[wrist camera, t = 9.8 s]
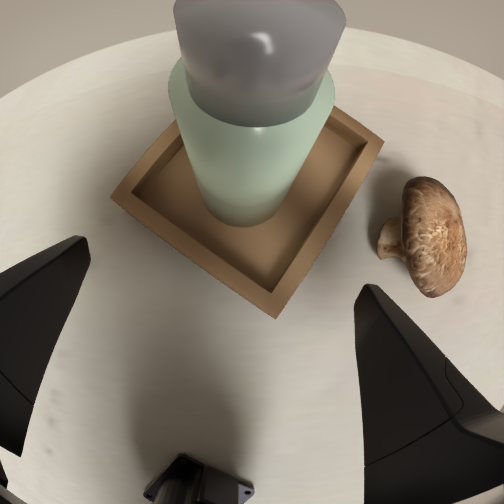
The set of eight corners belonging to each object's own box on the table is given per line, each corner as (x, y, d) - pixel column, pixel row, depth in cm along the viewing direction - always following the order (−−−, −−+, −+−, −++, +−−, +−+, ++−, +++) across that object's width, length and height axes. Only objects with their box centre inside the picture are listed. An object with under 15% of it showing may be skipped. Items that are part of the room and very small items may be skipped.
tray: (269, 315, 17) (275, 319, 15) (123, 208, 18) (109, 197, 15) (370, 156, 19) (384, 141, 17) (243, 77, 20) (244, 57, 17)
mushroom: (349, 255, 15) (457, 231, 10) (364, 171, 19) (439, 144, 14) (396, 320, 18) (474, 311, 14) (404, 239, 22) (466, 224, 18)
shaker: (222, 242, 17) (188, 103, 4) (188, 170, 17) (130, -7, 4) (298, 206, 17) (411, 56, 4) (261, 139, 18) (296, -38, 5)
